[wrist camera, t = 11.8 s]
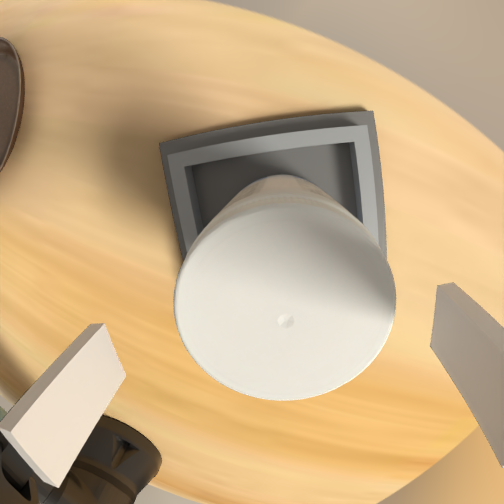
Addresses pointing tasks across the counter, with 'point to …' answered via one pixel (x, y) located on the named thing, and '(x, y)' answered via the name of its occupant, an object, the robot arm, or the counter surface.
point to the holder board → (276, 167)
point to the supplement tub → (284, 293)
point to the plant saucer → (10, 98)
